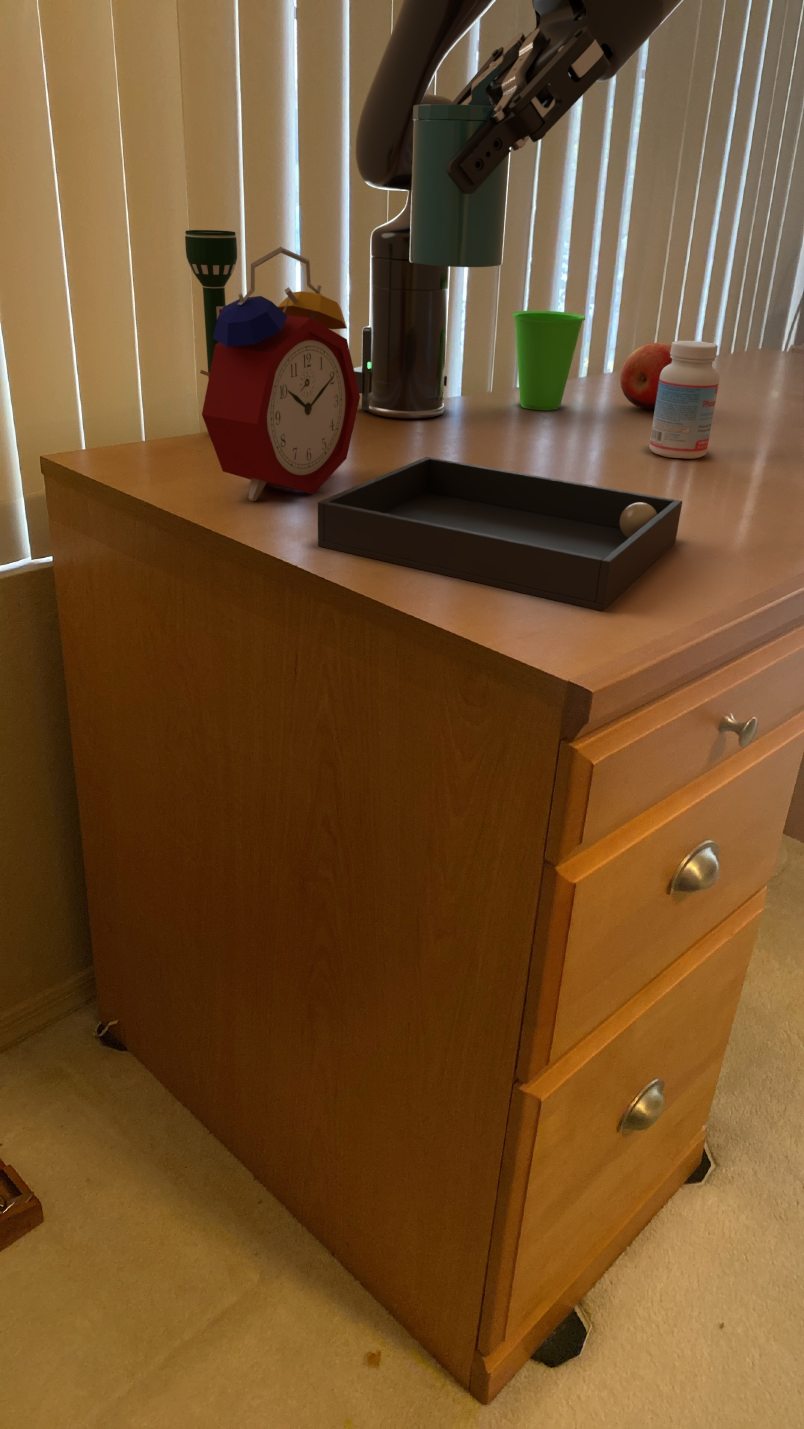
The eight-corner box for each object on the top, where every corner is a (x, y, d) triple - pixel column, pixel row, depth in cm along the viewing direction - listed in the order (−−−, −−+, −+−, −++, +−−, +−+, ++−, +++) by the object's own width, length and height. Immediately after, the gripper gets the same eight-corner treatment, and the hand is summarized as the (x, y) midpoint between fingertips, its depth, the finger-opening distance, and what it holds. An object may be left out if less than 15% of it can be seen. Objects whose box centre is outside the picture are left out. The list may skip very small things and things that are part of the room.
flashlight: (214, 442, 104) (201, 233, 94) (189, 433, 107) (174, 229, 98) (254, 435, 107) (246, 232, 97) (229, 427, 110) (218, 229, 101)
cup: (580, 403, 129) (591, 313, 123) (567, 416, 121) (578, 321, 116) (513, 396, 131) (521, 308, 126) (497, 409, 124) (504, 316, 118)
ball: (668, 523, 78) (651, 490, 77) (660, 536, 75) (642, 502, 75) (635, 539, 80) (618, 507, 79) (626, 552, 77) (608, 519, 77)
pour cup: (392, 262, 65) (395, 103, 61) (437, 256, 70) (443, 109, 66) (476, 269, 63) (486, 104, 58) (517, 263, 68) (529, 110, 63)
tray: (317, 546, 76) (317, 501, 74) (424, 495, 89) (426, 456, 87) (602, 611, 66) (609, 562, 64) (675, 543, 79) (682, 500, 77)
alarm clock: (262, 514, 82) (252, 252, 73) (186, 496, 86) (166, 245, 77) (361, 477, 94) (363, 245, 84) (289, 462, 97) (283, 240, 88)
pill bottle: (707, 462, 103) (728, 349, 98) (648, 457, 104) (665, 345, 99) (704, 448, 108) (723, 341, 103) (647, 444, 109) (664, 337, 104)
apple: (694, 411, 127) (705, 345, 123) (650, 417, 122) (660, 349, 118) (648, 400, 132) (657, 337, 128) (604, 405, 128) (612, 340, 124)
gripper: (540, -63, 65) (368, 135, 68) (652, -113, 53) (438, 129, 56) (601, 39, 69) (436, 222, 72) (717, 13, 57) (516, 234, 60)
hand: (438, 181), depth 64 cm, fingers closed on pour cup, 6 cm apart
